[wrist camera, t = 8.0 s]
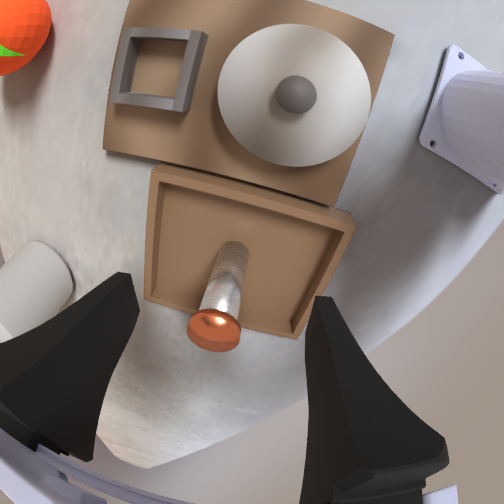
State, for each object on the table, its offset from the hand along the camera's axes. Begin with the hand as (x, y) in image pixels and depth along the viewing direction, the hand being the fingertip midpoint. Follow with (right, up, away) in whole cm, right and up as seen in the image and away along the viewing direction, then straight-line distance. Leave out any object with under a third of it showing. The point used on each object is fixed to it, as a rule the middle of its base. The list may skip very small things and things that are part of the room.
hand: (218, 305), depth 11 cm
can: (-20, +1, +14) cm, 25 cm away
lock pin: (0, +2, +10) cm, 10 cm away
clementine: (-15, +19, +2) cm, 25 cm away
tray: (0, +2, +11) cm, 11 cm away
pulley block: (0, +12, +4) cm, 13 cm away
